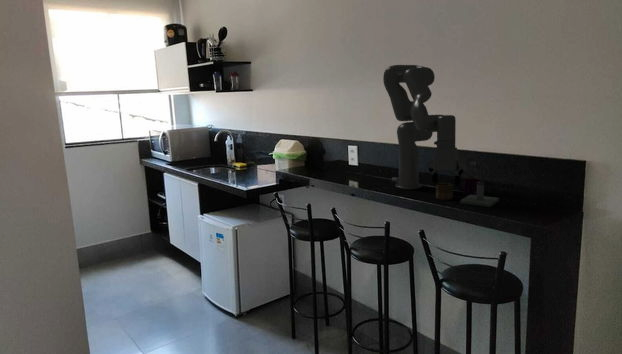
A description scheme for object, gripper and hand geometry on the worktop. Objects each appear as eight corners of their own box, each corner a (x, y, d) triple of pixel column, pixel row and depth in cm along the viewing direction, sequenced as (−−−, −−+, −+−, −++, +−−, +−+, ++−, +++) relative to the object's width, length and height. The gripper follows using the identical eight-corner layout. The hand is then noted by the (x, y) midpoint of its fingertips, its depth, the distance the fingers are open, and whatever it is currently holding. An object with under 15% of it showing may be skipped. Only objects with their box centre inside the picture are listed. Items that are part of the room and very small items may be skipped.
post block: (460, 202, 183) (461, 183, 181) (470, 197, 192) (471, 178, 191) (490, 206, 176) (491, 186, 174) (499, 200, 185) (500, 181, 183)
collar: (433, 198, 192) (434, 184, 191) (439, 195, 197) (440, 182, 196) (448, 200, 188) (449, 186, 187) (454, 197, 193) (454, 183, 192)
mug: (472, 197, 192) (473, 182, 190) (454, 193, 200) (455, 178, 199) (482, 195, 195) (483, 180, 194) (464, 191, 203) (465, 176, 202)
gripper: (423, 144, 190) (423, 183, 193) (463, 145, 179) (462, 186, 182) (430, 143, 196) (430, 181, 199) (469, 143, 185) (469, 183, 188)
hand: (446, 183), depth 190 cm, fingers open, 9 cm apart
